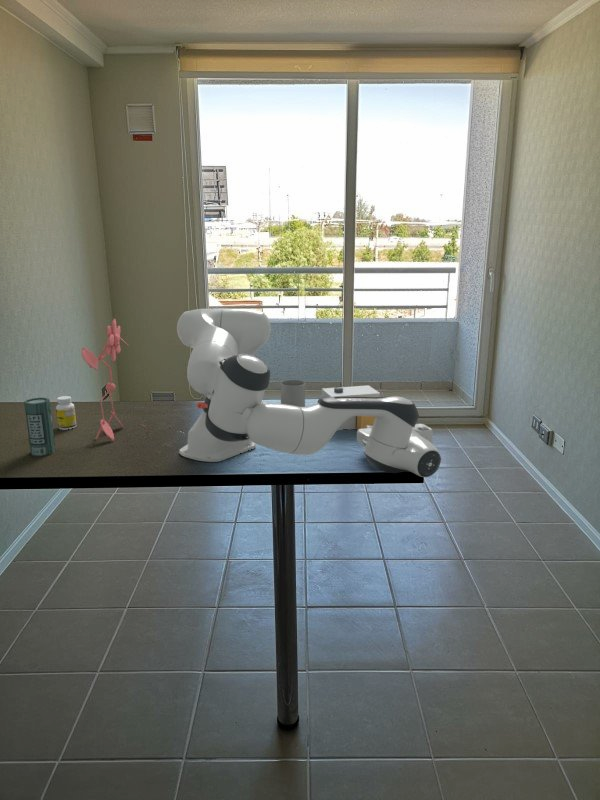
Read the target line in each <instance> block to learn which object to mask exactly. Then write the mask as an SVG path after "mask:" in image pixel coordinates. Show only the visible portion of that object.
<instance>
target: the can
mask: <svg viewBox="0 0 600 800" xmlns="http://www.w3.org/2000/svg"><path fill="white" fill-rule="evenodd" d="M23 403H24V404H23V405H24V410H25V411H24V412H25V420H26V426H27V434H28V435H27V436H28V442H29V449H30V455H31V456H34V457H46V456H49V455H50V456H51V454H52V455H53V454H54V453H55V452H56V443H55V434H54V427H53V425H54V424H53V419H52V411H51V401H50V398H48V397H33V398H29V399H26V400H24V401H23Z"/></svg>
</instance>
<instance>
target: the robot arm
mask: <svg viewBox="0 0 600 800" xmlns="http://www.w3.org/2000/svg"><path fill="white" fill-rule="evenodd" d="M271 326H272V325H271V322H270V319H269V317H268V316H267V314H265V312H263V311H259V310H255V309H251V308H250V309H249V308H197V309H196V308H195V309H192V310H187V311H183V313H181V315H180V316H179V318H178V321H177V324H176V333H177V336H178V338H179V340H180V342H181V343H182V344H183V345H184V346H185V347H188V348H192V351H191V353H190V355H189V359H188V362H187V371H186V372H187V373H186V376H187V377H186V378H187V382H188V384H189V386H190V387H191V388H192V389H193V390H194V391H196V392H197V393H198V394H200V395H201V394H202V395H205V398H204V402H203V401H198V402H197V403H196V407H197V409H199V410H200V409H201V410H202V413H201V414H200V415H199V417H198V418H197V420H196V421H195V422H194V424H193V425H192V426H191V428H190V429H189V430H188V433H187V444H186V445H183V447H181V448H180V449H179V451H178V453H179V454H180V456H183V457H184V458H188V459H191V460H194V461H199V462H207V463H218V462H221V461H224V460H225V461H226V460H227V459H229V458H232V457H233V458H234V456H237V455H241V454H243V453H246V452H248V450H249V451H252V450H253V449H256V448H255V447H256V445H259V446H261V447H265V448H267V449H270V450H273V451H277V452H281V453H286V454H292V455H299V456H309V455H310V456H311V455H314V454H316V453H318V452H319V451H321V450H322V449H324V448H325V447H326V446H327V445H328V443H329V442H330V441H331V440H332V438H333V437H334V435H335V433H336V432H337V431H338V430H337V429H338V428H339V427H340V426H341V425H342V424H343V423H344V422H345V421H346V420H347V419H349V418H351V417H353V416H376V418H375V421H374V424H373V427H372V426H371V425H368V426H365V428H364V429H359V430H356V442H357V443H358V444H360V445H361V446H363V447H364V451H363V453H364V456H365V459H366V460H367V461H368V463H369V464H370V465H371V466H373V467H374V468H376V469H378V470H380V471H382V472H385V473H389V474H398V473H399V474H400V473H403V472H405V471H408V472H410V473H412V474H415V475H416V476H418V477H421V478H430V477H432V476H434V474H435V473H436V472H437V471H438V470H439V468H440V465H441V462H442V457H441V453H440V451H439V450H438V448H437V447H436V446H435V445H434V444H433V440H434V437H433V435H434V433H433V429H432V428H431V427H429V426H428V425H427V424H424V423H417V422H418V420H419V417H420V415H419V414H420V413H419V411H418V409H417V406H416V404H415V403H414V401H412V400H410V399H408V398H405V397H402V396H400V395H399V396H397V395H396V396H389V395H388V396H380V397H327V398H323V399H322V398H321V399H322V400H321V401H320V402H319V403H318V402H317V403H315V404H312V405H309V406H305V407H298V406H293V405H286V404H281V403H268V402H266V401H264V400H263V399H264V395H265V392H266V389H268V387H269V384H270V380H271V379H270V378H271V370H270V368H269V366H268V365H267V364H266V362H264V361H263V360H262V359H260V358H259V357H257V356H255V354H256V352H257V351H258V350H260V349H261V348H262V347H264V346H265V345H266V343H268V341H269V339H270V335H271V333H272V327H271ZM251 449H252V450H251ZM240 453H241V454H240Z"/></svg>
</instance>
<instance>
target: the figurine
mask: <svg viewBox="0 0 600 800" xmlns="http://www.w3.org/2000/svg"><path fill="white" fill-rule="evenodd" d="M106 333H107V334H106V335H107V340H106V343H105V345H104V347H103V349H102V350H101V353H100V354H99V355H98V356H96V355H95V353H94V352H92V351H91V350H90V349H88V348H85V347H82V348H81V357H82V358H83V361H84V362H85V363H86V364H87V365H88V366H89V368H90V369H92V368H93V370H95V371H97V370H98V368H99V360H100V361H101V362H102V363H103V364H104V365H105V366H106V367H108V370H109V378H110V382H108V383H107V384H106V385H105V391H107V392H106V393H105V394H104V395H103V397H101V399H100V400H99V403H100V408H101V415H102V419H100V421H99V424H100V427H99V430H98V431H97V434H96V436H95V438H94V439H95V440H98V438H99V436H100V434H101V432H104V434H105V435H106V436H107V437H108V438H109V439H110V440H111V441H112V442H113V441H115V434H114V432H113V429H112V427H111V425H110V423H111V421H112V420H113V417H114V418H115V419H116V420H117V421H118V423H119V424H120V425H121V427H122V428H125V425H123V423H121V421H120V420H119V418H118V417H117V416H116V413H115V408H114V404H113V399H112V392H114V391H115V390H116V385H115V384H114V383H113V372H112V369H113V368H112V367H111V365H109V364H108V363H107V362H106V361H105V360H103V358H105V357H109V356H111V357H110V359H111V362H112V363H115V361H116V360H117V355H119V354H120V353H121V351H122V349H121V345H120V341H122V342H123V343H124V344H125V345H126V346H127V347H129V346H130V345H129V344H128V343H127V342H126V341H125V340H124V339H123V338H122V337H121V326H120V325H118V326H117V319H116V318H113V320H112V321H111V325H108V326H106ZM103 354H104V355H103ZM108 394H109V398H110V402H111V408H112V410H111V411H110V413H111V415H110V418H109V419H108V422H107V421H106V420H105V415H104V409H103V400H104V398H105V397H106V396H107V395H108ZM139 425H141V426H143V427H145V428H146V429H147V430H149V427H147V426H145V425H144V424H141V423H140V424H139ZM147 435H148V433H146V434H144V436H142V437H140V438H139V439H138V440H140V439H143V438H144V437H146V436H147ZM85 446H87V444H85ZM89 446H92V445H91V444H89Z"/></svg>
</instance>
